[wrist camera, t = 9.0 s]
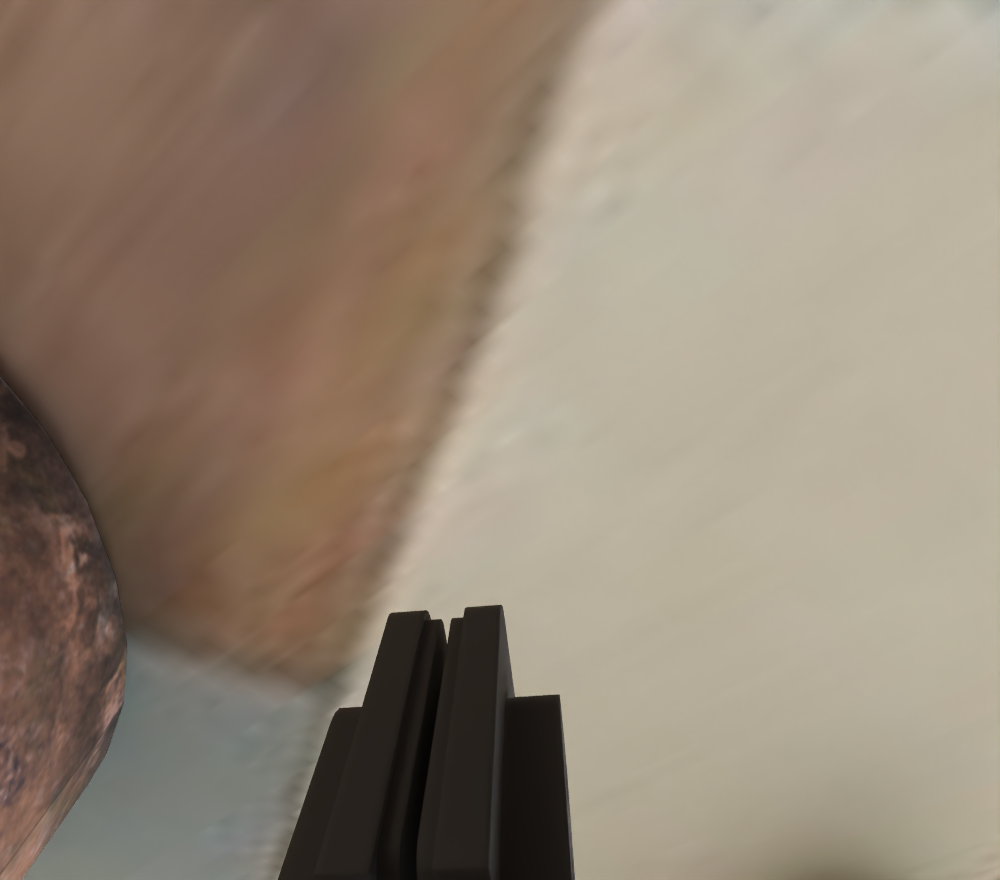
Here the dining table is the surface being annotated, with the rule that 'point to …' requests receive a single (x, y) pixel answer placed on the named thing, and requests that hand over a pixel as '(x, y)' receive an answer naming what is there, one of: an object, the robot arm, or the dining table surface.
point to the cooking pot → (50, 640)
